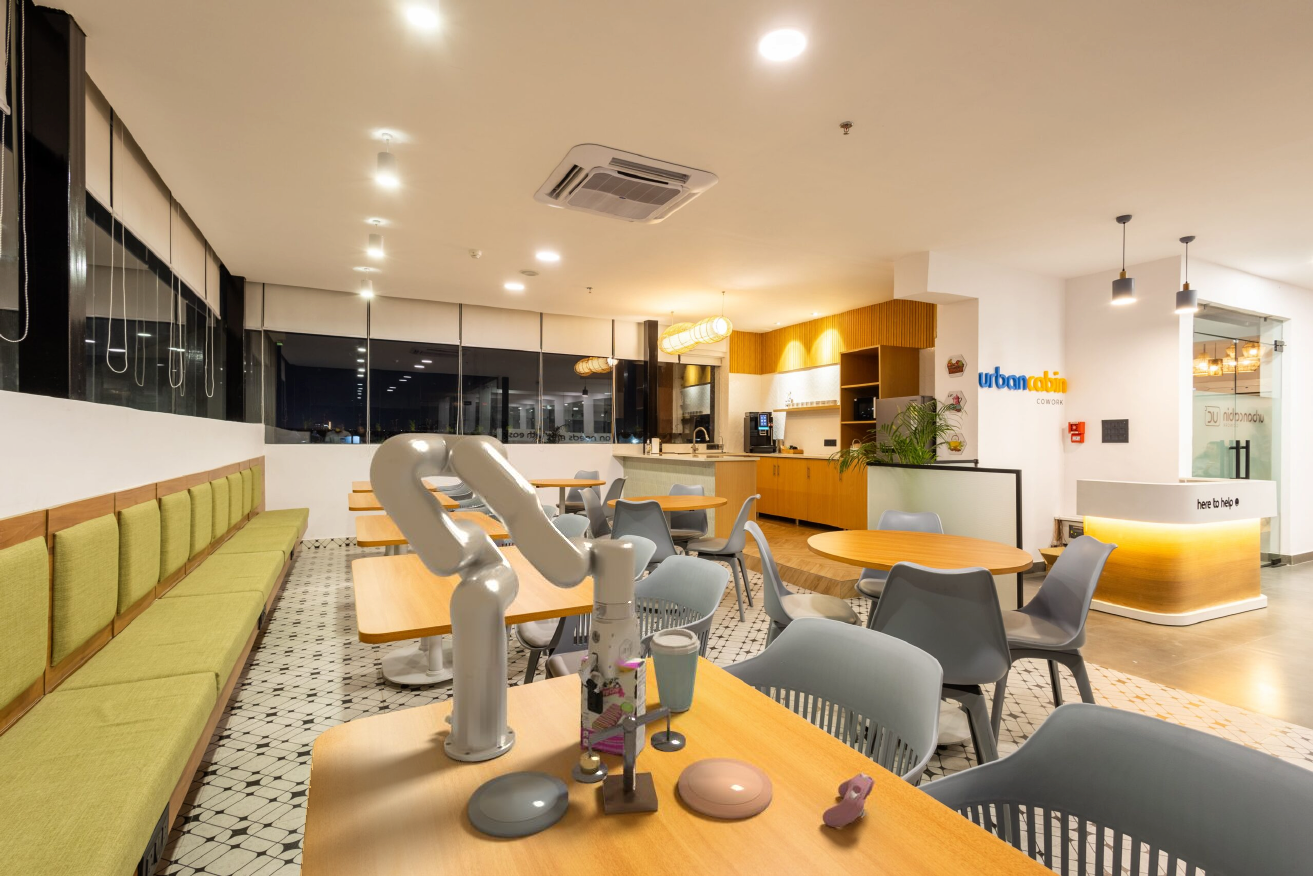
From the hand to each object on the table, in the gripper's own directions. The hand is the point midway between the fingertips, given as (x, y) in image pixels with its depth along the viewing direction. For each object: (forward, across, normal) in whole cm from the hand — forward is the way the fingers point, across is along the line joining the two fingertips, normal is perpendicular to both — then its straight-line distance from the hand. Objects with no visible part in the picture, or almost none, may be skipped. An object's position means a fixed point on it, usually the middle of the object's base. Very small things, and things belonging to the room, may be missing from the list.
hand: (613, 702), depth 113 cm
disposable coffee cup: (+9, +21, +1) cm, 23 cm away
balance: (+8, -10, -12) cm, 18 cm away
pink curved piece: (+9, +7, -41) cm, 43 cm away
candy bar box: (+9, 0, 0) cm, 9 cm away
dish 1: (+8, -22, 0) cm, 24 cm away
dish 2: (+8, +1, -23) cm, 24 cm away
